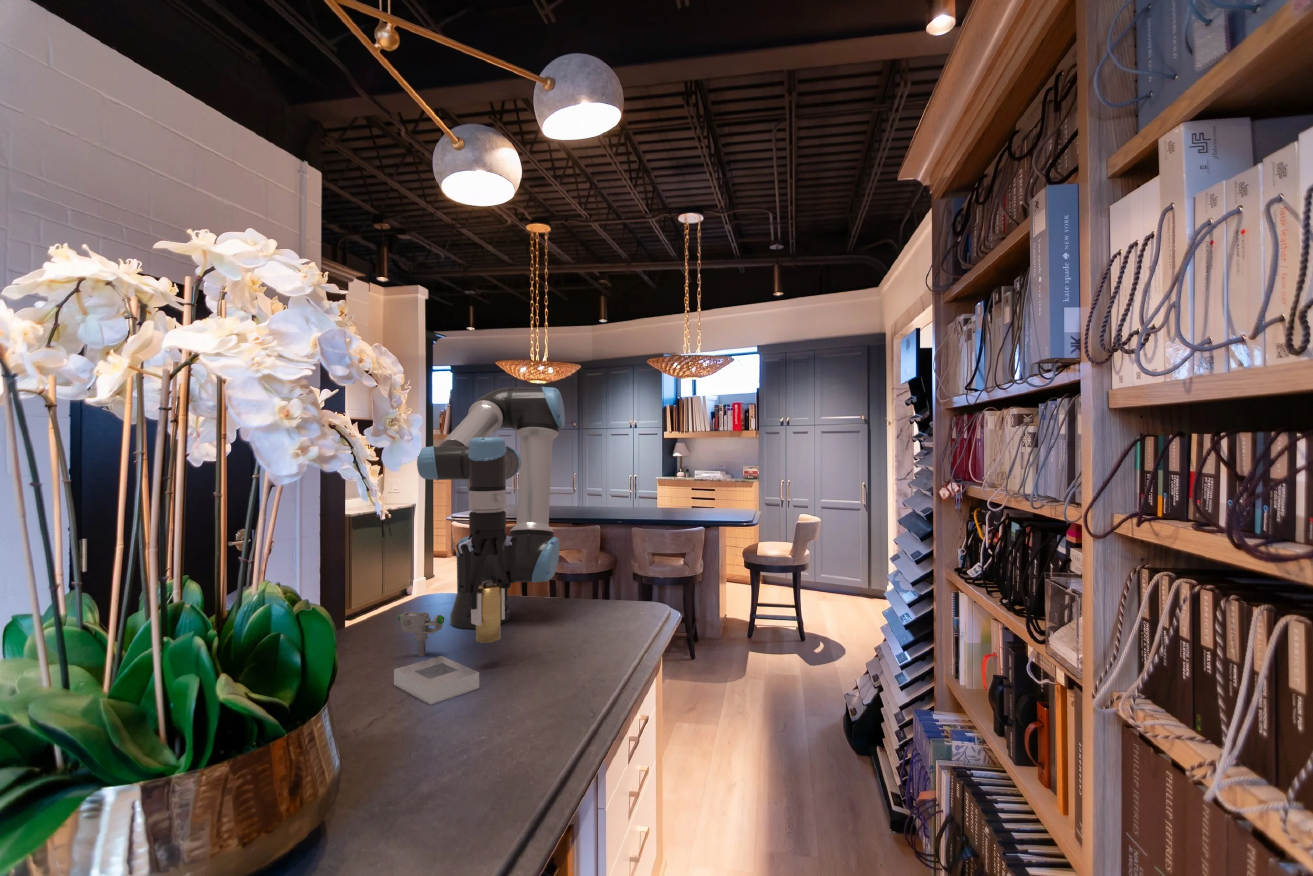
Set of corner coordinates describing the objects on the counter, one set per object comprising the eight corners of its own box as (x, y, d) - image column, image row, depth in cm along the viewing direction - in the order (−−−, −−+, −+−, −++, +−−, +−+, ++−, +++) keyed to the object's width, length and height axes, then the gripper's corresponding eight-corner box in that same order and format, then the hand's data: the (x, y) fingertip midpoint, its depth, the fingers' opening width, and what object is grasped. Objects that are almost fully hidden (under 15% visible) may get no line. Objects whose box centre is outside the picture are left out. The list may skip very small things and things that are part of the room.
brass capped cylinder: (471, 639, 133) (471, 582, 133) (491, 633, 136) (491, 578, 137) (484, 644, 129) (484, 585, 129) (505, 638, 133) (505, 581, 133)
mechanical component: (439, 663, 137) (438, 617, 137) (396, 660, 140) (396, 615, 140) (446, 658, 140) (446, 613, 140) (404, 655, 142) (404, 611, 142)
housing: (394, 689, 123) (393, 669, 123) (441, 675, 130) (441, 655, 130) (430, 710, 114) (430, 688, 114) (479, 693, 121) (479, 672, 121)
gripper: (458, 515, 124) (459, 634, 124) (533, 508, 137) (533, 615, 137) (438, 512, 129) (439, 627, 129) (512, 505, 142) (513, 609, 142)
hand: (488, 621), depth 133 cm, fingers closed on brass capped cylinder, 5 cm apart
